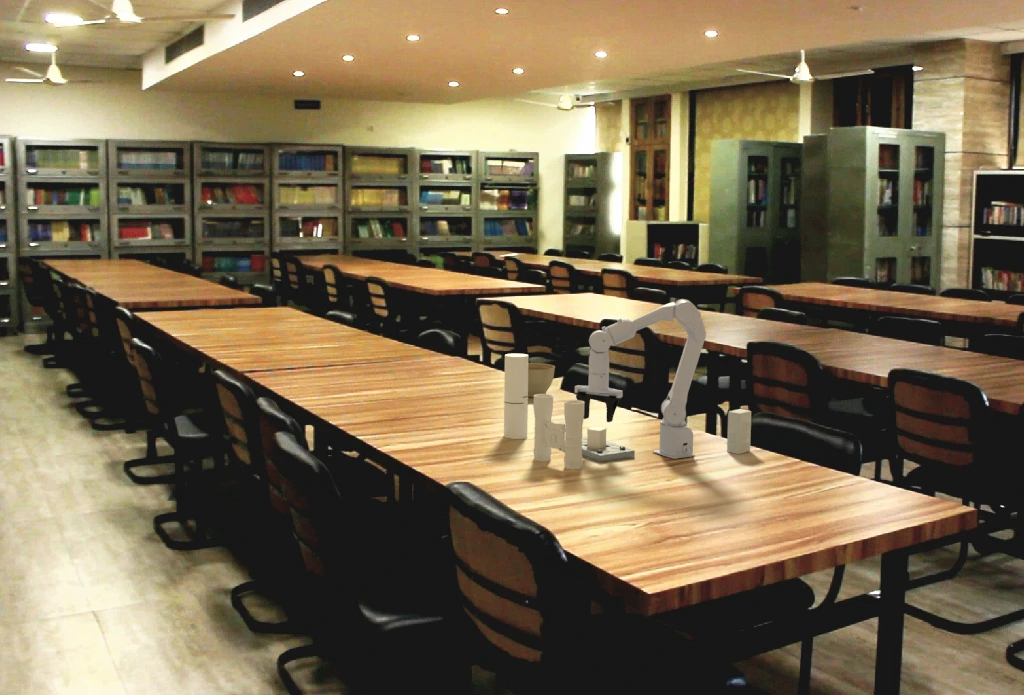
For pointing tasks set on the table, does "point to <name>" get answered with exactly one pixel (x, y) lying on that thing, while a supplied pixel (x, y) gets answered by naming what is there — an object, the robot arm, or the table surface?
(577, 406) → the binoculars
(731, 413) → the skincare box
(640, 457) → the table surface
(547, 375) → the planter bowl
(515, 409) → the cylindrical container
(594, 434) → the cream rectangular block
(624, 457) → the strike plate
